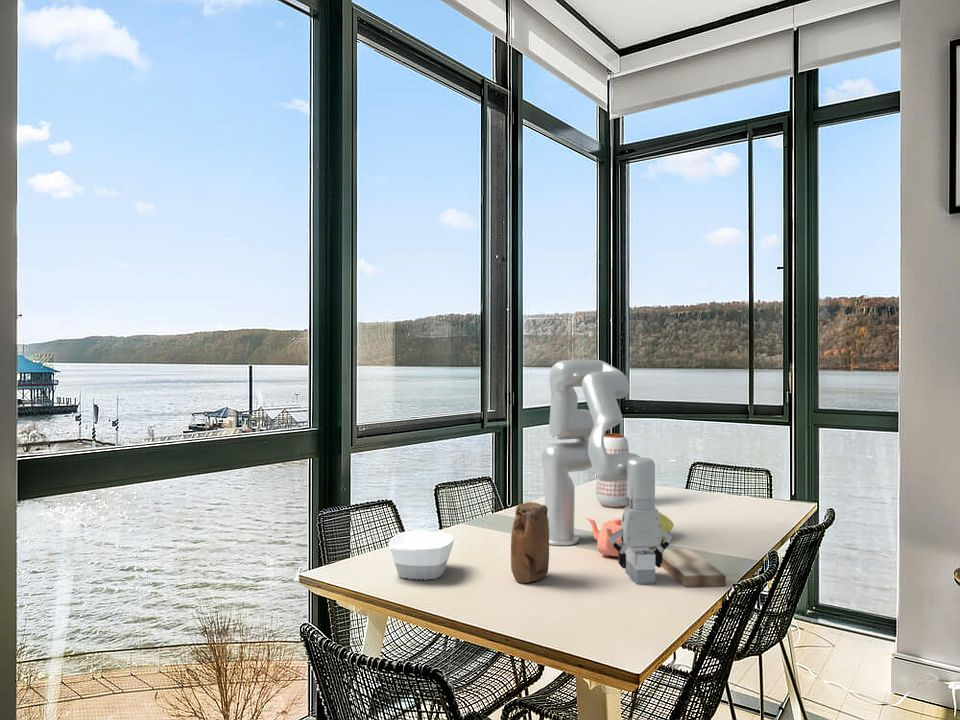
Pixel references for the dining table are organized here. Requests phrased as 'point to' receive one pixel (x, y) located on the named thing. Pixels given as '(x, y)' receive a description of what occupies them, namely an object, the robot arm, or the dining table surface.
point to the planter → (615, 491)
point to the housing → (640, 565)
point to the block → (530, 542)
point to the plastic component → (665, 524)
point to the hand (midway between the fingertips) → (640, 566)
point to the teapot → (606, 536)
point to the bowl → (421, 554)
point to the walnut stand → (691, 569)
